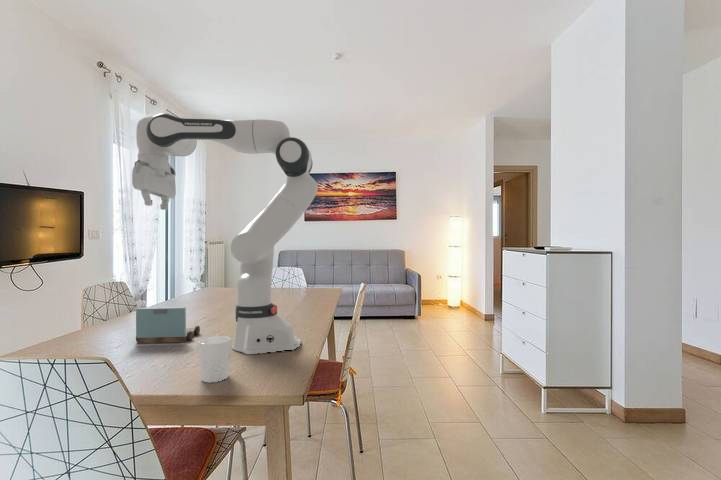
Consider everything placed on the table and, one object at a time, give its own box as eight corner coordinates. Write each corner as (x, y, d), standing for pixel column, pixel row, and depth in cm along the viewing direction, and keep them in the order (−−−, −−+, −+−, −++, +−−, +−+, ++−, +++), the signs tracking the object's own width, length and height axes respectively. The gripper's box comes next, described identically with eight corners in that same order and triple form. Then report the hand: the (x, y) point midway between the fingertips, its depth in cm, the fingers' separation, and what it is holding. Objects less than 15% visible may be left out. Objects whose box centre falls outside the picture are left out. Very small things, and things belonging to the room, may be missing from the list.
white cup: (224, 384, 93) (224, 344, 93) (192, 383, 93) (192, 344, 93) (235, 372, 101) (235, 335, 101) (206, 372, 101) (206, 335, 101)
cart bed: (200, 333, 143) (200, 324, 143) (189, 341, 131) (188, 332, 131) (151, 334, 141) (151, 325, 141) (135, 343, 129) (135, 334, 129)
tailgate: (185, 335, 131) (185, 307, 131) (183, 337, 129) (183, 308, 129) (137, 337, 129) (137, 308, 129) (135, 338, 127) (135, 309, 127)
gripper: (145, 156, 113) (148, 201, 113) (177, 172, 134) (180, 210, 133) (124, 158, 113) (127, 203, 113) (160, 174, 134) (163, 212, 133)
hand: (156, 207), depth 123 cm, fingers open, 8 cm apart
